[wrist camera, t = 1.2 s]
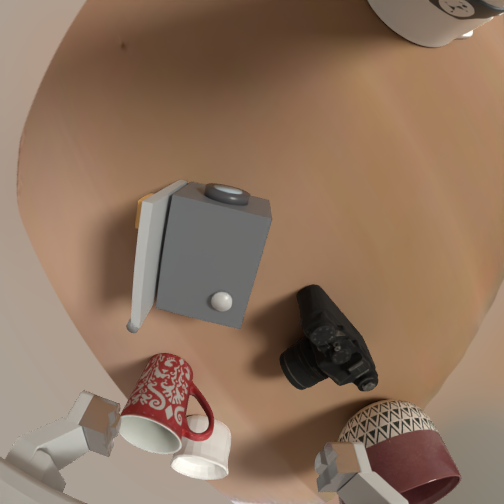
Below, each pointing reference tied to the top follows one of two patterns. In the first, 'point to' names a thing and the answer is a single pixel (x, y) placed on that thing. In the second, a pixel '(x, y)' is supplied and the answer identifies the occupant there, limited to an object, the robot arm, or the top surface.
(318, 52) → the top surface
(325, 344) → the camera
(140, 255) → the door
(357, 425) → the planter
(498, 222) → the top surface
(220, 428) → the cup
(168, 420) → the mug
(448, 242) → the top surface
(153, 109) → the top surface
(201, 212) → the housing
